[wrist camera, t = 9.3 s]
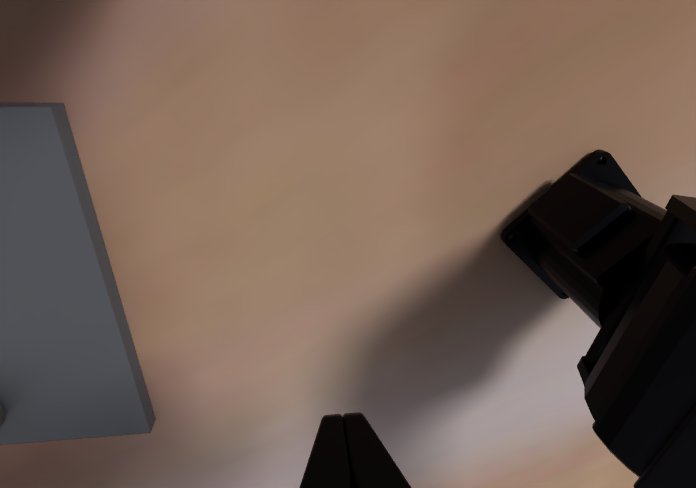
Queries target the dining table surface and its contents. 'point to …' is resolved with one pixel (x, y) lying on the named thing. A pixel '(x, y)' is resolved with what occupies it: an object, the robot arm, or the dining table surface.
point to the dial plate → (58, 294)
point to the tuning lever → (2, 415)
